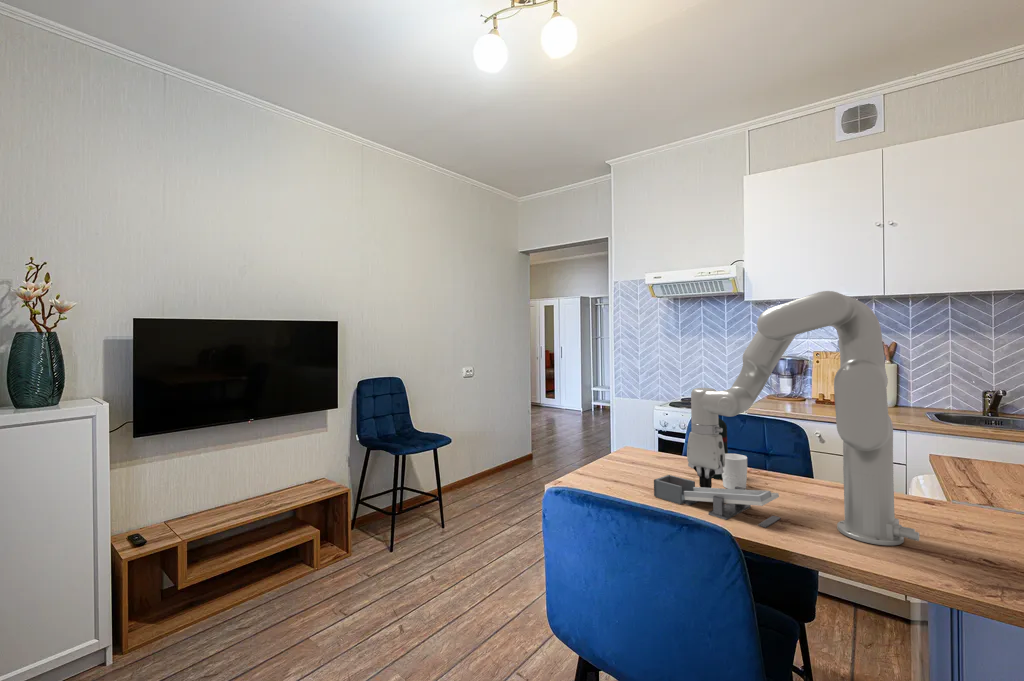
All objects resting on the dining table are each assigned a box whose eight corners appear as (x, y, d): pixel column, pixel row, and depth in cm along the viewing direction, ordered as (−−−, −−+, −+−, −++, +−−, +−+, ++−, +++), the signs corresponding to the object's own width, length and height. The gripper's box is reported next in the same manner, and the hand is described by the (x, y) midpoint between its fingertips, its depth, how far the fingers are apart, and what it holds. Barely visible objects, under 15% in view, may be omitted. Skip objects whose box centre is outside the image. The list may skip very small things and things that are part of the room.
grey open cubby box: (695, 498, 135) (694, 481, 135) (680, 504, 130) (680, 486, 130) (669, 490, 142) (668, 474, 142) (654, 496, 138) (653, 479, 138)
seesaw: (779, 496, 119) (777, 487, 120) (762, 505, 113) (760, 496, 114) (703, 492, 136) (701, 484, 137) (685, 499, 130) (683, 491, 131)
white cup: (742, 483, 148) (741, 453, 148) (752, 491, 140) (751, 459, 141) (717, 483, 149) (716, 453, 149) (726, 491, 141) (725, 459, 141)
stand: (784, 516, 120) (784, 497, 120) (761, 530, 112) (760, 509, 112) (704, 494, 138) (704, 478, 138) (679, 505, 130) (678, 487, 130)
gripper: (735, 431, 130) (736, 493, 131) (688, 424, 142) (689, 481, 142) (722, 435, 126) (723, 499, 126) (675, 427, 138) (676, 486, 138)
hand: (705, 489), depth 134 cm, fingers closed
